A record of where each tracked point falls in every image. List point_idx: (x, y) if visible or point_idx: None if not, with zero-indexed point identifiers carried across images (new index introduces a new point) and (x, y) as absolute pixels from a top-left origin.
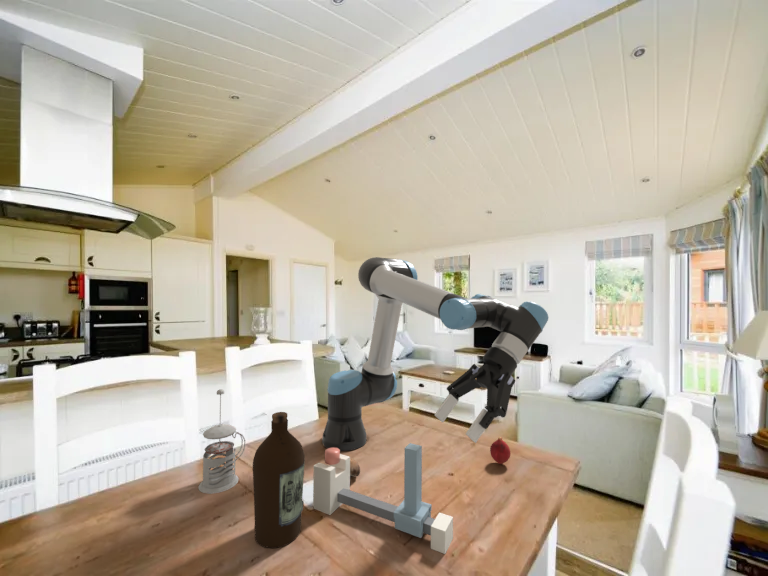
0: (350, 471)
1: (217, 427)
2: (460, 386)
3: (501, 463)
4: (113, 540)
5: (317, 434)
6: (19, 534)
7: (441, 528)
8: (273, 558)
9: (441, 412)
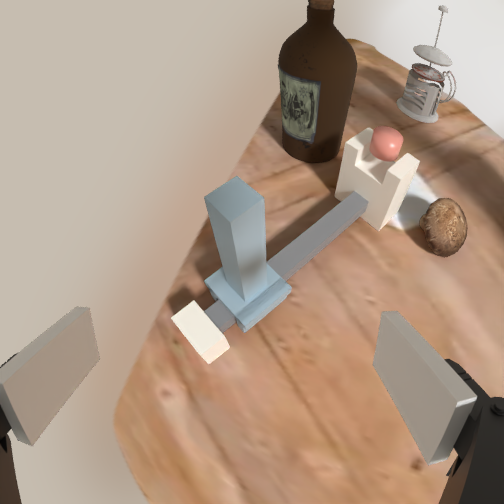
0: (424, 225)
1: (429, 47)
2: (474, 489)
3: None
4: None
5: None
6: None
7: (180, 315)
8: (267, 140)
9: (392, 344)
